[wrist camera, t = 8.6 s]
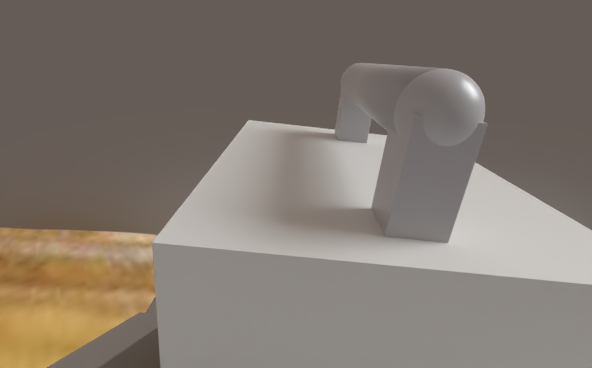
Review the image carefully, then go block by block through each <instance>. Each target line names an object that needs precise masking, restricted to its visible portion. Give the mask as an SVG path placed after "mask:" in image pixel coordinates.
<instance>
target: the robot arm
mask: <svg viewBox="0 0 592 368" xmlns="http://www.w3.org/2000/svg"><path fill="white" fill-rule="evenodd" d="M47 368H160V354H159V339H158V324H157V308H156V297H155V298H154V300H153V302H152V303H151V305H150V307H149V308H148V310H147V312H146V313H138V314H137V315H135V316H133V317H131V318H130V319H128V320H126V321H125V322H123V323H121V324H120V325H118V326H116V327H115V328H113V329H111V330H110V331H108V332H106V333H104V334H103V335H101V336H99V337H98V338H96V339H94V340H93V341H91V342H89V343H88V344H86V345H84V346H83V347H81V348H79V349H77V350H76V351H74V352H72V353H71V354H69V355H67V356H66V357H64V358H62V359H61V360H59V361H57V362H56V363H54V364H52V365H50V366H49V367H47Z"/></svg>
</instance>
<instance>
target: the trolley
mask: <svg viewBox="0 0 592 368" xmlns="http://www.w3.org/2000/svg"><path fill="white" fill-rule="evenodd" d="M484 116H485V101H484V96H483V94H482V92H481V89H480V88H479V87H478V85H477V84H476V83H475V82H474V81H473V80H472V79H471V78H470V77H469V76H467V75H465V74H463V73H461V72H458V71H455V70H451V69H443V68H428V67H414V66H399V65H383V64H369V63H357V64H354V65H352V66H350V67H349V68H348V69H347V70H346V71H345V72H344V73H343V75H342V78H341V95H340V101H339V107H338V113H337V120H336V126H335V130H333V129H324V128H314V127H305V126H297V125H288V124H278V123H270V122H260V121H251V120H249V121H248V122H247V123H246V125H245V126H244V127H243V128H242V129H241V131H240V132H239V133H238V134H237V136H236V137H235V138H234V140H233V141H232V142H231V143H230V145H229V146H228V147H227V148H226V150H225V151H224V152H223V153H222V155H221V156H220V157H219V159H218V160H217V161H216V162H215V164H214V165H213V166H212V167H211V169H210V170H209V171H208V172H207V174H206V175H205V176H204V178H203V179H202V180H201V182H200V183H199V184H198V185H197V187H196V188H195V189H194V190H193V192H192V193H191V194H190V195H189V197H188V198H187V199H186V201H185V202H184V203H183V204H182V206H181V207H180V208H179V209H178V211H177V212H176V213H175V214H174V216H173V217H172V218H171V219H170V221H169V222H168V223H167V225H166V226H165V227H164V228H163V230H162V231H161V232H160V233H159V235H158V236H157V237H156V238H155V240H154V241H153V242H152V247H153V262H154V277H155V293H156V308H157V324H158V339H159V354H160V368H592V230H590V229H588V228H586V227H585V226H583V225H581V224H580V223H578V222H576V221H575V220H573V219H571V218H569V217H567V216H566V215H564V214H563V213H561V212H559V211H557V210H556V209H554V208H552V207H551V206H549V205H547V204H545V203H544V202H542V201H540V200H538V199H537V198H535V197H533V196H532V195H530V194H528V193H527V192H525V191H523V190H521V189H520V188H518V187H516V186H515V185H513V184H511V183H509V182H508V181H506V180H504V179H503V178H501V177H499V176H497V175H496V174H494V173H492V172H491V171H489V170H487V169H485V168H484V167H482V166H480V165H479V164H477V163H475V161H476V158H477V155H478V152H479V149H480V146H481V143H482V140H483V137H484V133H485V131H486V127H487V124H488V123H485V122H483V120H484ZM371 119H373V120H375V121H376V122H377V123H378V124H380V125H381V126H382V127H383V128H385V129H386V130H387V131H388V134H387V136H386V135H378V134H369V129H370V124H371Z"/></svg>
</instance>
